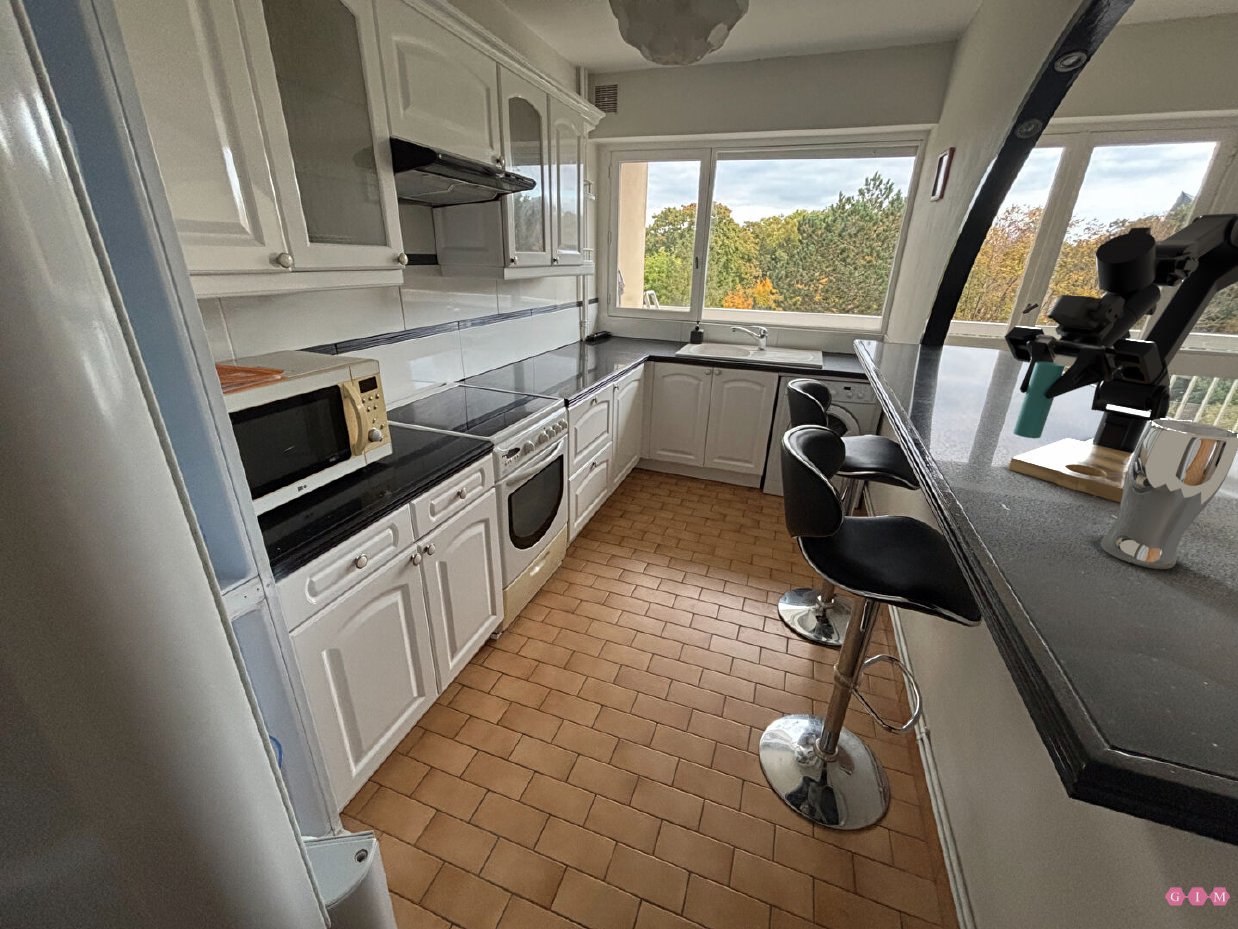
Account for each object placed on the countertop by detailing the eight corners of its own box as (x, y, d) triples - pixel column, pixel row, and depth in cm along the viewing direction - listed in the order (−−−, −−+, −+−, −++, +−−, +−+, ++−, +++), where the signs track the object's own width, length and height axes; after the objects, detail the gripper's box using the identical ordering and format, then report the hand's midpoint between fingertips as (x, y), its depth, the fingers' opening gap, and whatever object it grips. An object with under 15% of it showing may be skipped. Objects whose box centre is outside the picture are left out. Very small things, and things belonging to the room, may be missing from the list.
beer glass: (1198, 576, 53) (1269, 441, 48) (1121, 567, 54) (1181, 435, 49) (1148, 542, 59) (1205, 420, 54) (1081, 535, 61) (1129, 416, 55)
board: (1063, 448, 90) (1067, 438, 89) (1171, 476, 79) (1177, 464, 78) (1006, 469, 80) (1010, 457, 80) (1120, 504, 69) (1126, 490, 68)
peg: (1019, 430, 80) (1042, 360, 76) (1044, 436, 78) (1069, 364, 73) (1008, 433, 79) (1031, 362, 75) (1033, 439, 76) (1058, 366, 72)
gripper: (1032, 272, 79) (958, 346, 80) (1185, 276, 62) (1090, 369, 63) (1051, 323, 84) (982, 392, 85) (1198, 339, 67) (1110, 424, 68)
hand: (1033, 393), depth 75 cm, fingers closed on peg, 3 cm apart
